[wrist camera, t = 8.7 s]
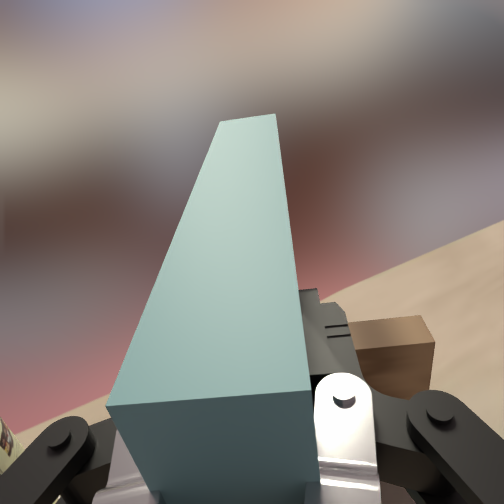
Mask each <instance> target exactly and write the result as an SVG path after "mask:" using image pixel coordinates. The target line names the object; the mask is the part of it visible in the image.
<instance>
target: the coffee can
mask: <svg viewBox="0 0 504 504" xmlns="http://www.w3.org/2000/svg"><path fill="white" fill-rule="evenodd" d="M24 451H25V449H24V448H23V446H22V445H21V444H20V442H19V441H18V440H17V438H16V437H15V436H14V434H13V433H12V432H11V430H10V429H9V428H8V426H7V425H6V424H5V423H4V421H3V420H2V419H1V417H0V476H1V475H2V474H3V473H4V472H5V471H6V470H7V469H8V467H9V466H10V465H11V464H12V463H13V462H14V461H15V460H16V459H17V458H18V457H19V456H20V455H21V454H22V453H23V452H24ZM60 497H61V496H60V495H59V497H58V498H57V499H56V500H55V502H54V503H53V504H55V503H56V502H57V501H58V499H59V498H60Z"/></svg>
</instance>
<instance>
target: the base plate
mask: <svg viewBox="0 0 504 504" xmlns="http://www.w3.org/2000/svg"><path fill="white" fill-rule="evenodd" d="M348 326H349V329H350V333H351V337H352V340H353V344H354V347H355V351H356V355H357V358H358V362H359V366H360V369H361V373H362V376H363V378H364V379H365V381H366V382H367V383H368V385H370V386H371V387H372V388H373V389H374V390H376V391H378V392H380V393H382V394H384V395H387V396H391V397H395V398H400V399H405V400H410V399H411V397H412V396H413V395H415V394H416V393H418V392H421V391H425V390H429V386H430V379H431V371H432V363H433V356H434V348H435V341H434V339H433V337H432V335H431V333H430V331H429V330H428V328H427V326H426V324H425V322H424V321H423V319H422V317H421V315H418V316H408V317H398V318H389V319H379V320H369V321H360V322H350V323H348Z"/></svg>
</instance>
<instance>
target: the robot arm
mask: <svg viewBox="0 0 504 504" xmlns="http://www.w3.org/2000/svg"><path fill="white" fill-rule="evenodd" d="M298 292H299V299H300V307H301V315H302V322H303V330H304V338H305V345H306V353H307V361H308V369H309V376H310V384H311V392H312V402H313V411H314V421H315V431H316V441H317V450H318V460H319V470H320V480H321V481H314V482H306V488H305V501H304V504H381V493H380V481H383V482H387V483H390V484H394V485H398V486H401V487H405V489H406V490H407V492H408V493H409V494H410V496H411V497H412V498H413V500H414V501H415V502H416V504H504V440H503V439H502V438H501V437H500V436H499V435H498V434H497V433H496V432H495V431H494V430H492V429H491V428H490V427H489V426H488V425H487V424H486V423H485V422H484V421H482V420H481V419H480V418H479V417H478V416H477V415H476V414H475V413H474V412H473V411H471V410H470V409H469V408H468V407H467V406H466V405H465V404H464V403H463V402H461V401H460V400H459V399H458V398H456V397H454V396H453V395H451V394H448V393H446V392H443V391H438V390H425V391H421V392H418V393H416V394H415V395H413V396H412V397H411V399H410V400H405V399H400V398H395V397H391V396H387V395H384V394H382V393H380V392H378V391H376V390H374V389H373V388H372V387H371V386H370V385H368V383H367V382H366V381H365V379H364V378H363V376H362V373H361V369H360V366H359V362H358V358H357V355H356V351H355V347H354V344H353V340H352V337H351V333H350V329H349V326H348V322H347V318H346V315H345V312H344V311H343V310H342V309H341V308H340V307H339V305H338V304H337V303H336V302H331V303H321V304H320V300H319V295H318V290H317V288H315V289H305V290H298ZM379 480H380V481H379ZM59 495H60V496H61V497H60V498H59V499H58V501H57V502H56V503H55V504H166V502H165V500H164V498H163V496H162V494H161V492H160V490H155V491H149V489H148V487H147V485H146V483H145V481H144V479H143V478H142V476H141V474H140V472H139V470H138V468H137V466H136V464H135V462H134V460H133V458H132V456H131V454H130V453H129V451H128V449H127V447H126V445H125V443H124V441H123V439H122V437H121V435H120V433H119V431H118V430H117V428H116V426H115V424H114V422H113V420H112V418H109V419H107V420H104V421H101V422H98V423H96V424H93V425H90V426H88V424H87V422H86V421H85V420H84V419H83V418H81V417H78V416H69V417H65V418H62V419H60V420H58V421H56V422H54V423H52V424H51V425H50V426H48V427H47V428H46V429H45V430H44V431H43V432H42V433H41V434H40V435H39V436H38V437H37V438H36V439H35V440H34V441H33V442H32V443H31V444H30V445H29V446H28V448H27V449H26V450H25V451H24V452H23V453H22V454H21V455H20V456H19V457H18V458H17V459H16V460H15V461H14V462H13V463H12V464H11V465H10V466H9V467H8V469H7V470H6V471H5V472H4V473H3V474H2V475H1V476H0V504H53V503H54V502H55V500H56V499H57V498H58V497H59Z"/></svg>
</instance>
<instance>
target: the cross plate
mask: <svg viewBox="0 0 504 504" xmlns="http://www.w3.org/2000/svg"><path fill="white" fill-rule="evenodd" d="M106 408H107V410H108V412H109V414H110V416H111V418H112V420H113V422H114V424H115V426H116V428H117V430H118V431H119V433H120V435H121V437H122V439H123V441H124V443H125V445H126V447H127V449H128V451H129V453H130V454H131V456H132V458H133V460H134V462H135V464H136V466H137V468H138V470H139V472H140V474H141V476H142V478H143V479H144V481H145V483H146V485H147V487H148V489H149V491H155V490H160V492H161V494H162V496H163V498H164V500H165V502H166V504H304V501H305V488H306V482H314V481H321V480H320V470H319V460H318V450H317V441H316V431H315V421H314V411H313V402H312V392H311V384H310V376H309V369H308V361H307V353H306V345H305V338H304V330H303V322H302V315H301V307H300V299H299V292H298V284H297V277H296V268H295V261H294V253H293V246H292V238H291V230H290V223H289V215H288V207H287V199H286V192H285V184H284V177H283V168H282V161H281V153H280V145H279V138H278V130H277V122H276V115H275V114H269V115H262V116H255V117H249V118H242V119H235V120H228V121H222V122H220V124H219V126H218V128H217V131H216V133H215V136H214V138H213V141H212V143H211V146H210V149H209V151H208V153H207V156H206V158H205V161H204V163H203V166H202V168H201V170H200V173H199V176H198V178H197V181H196V183H195V185H194V188H193V190H192V193H191V195H190V198H189V200H188V203H187V205H186V208H185V210H184V213H183V215H182V218H181V220H180V223H179V225H178V227H177V230H176V233H175V235H174V237H173V240H172V242H171V245H170V248H169V250H168V252H167V255H166V257H165V260H164V262H163V265H162V267H161V270H160V272H159V275H158V277H157V279H156V282H155V285H154V287H153V289H152V292H151V294H150V297H149V300H148V302H147V304H146V307H145V309H144V312H143V314H142V317H141V319H140V322H139V324H138V327H137V329H136V332H135V334H134V336H133V339H132V342H131V344H130V346H129V349H128V351H127V354H126V357H125V359H124V361H123V364H122V366H121V369H120V371H119V374H118V377H117V379H116V381H115V384H114V386H113V389H112V391H111V393H110V396H109V398H108V401H107V403H106Z"/></svg>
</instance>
